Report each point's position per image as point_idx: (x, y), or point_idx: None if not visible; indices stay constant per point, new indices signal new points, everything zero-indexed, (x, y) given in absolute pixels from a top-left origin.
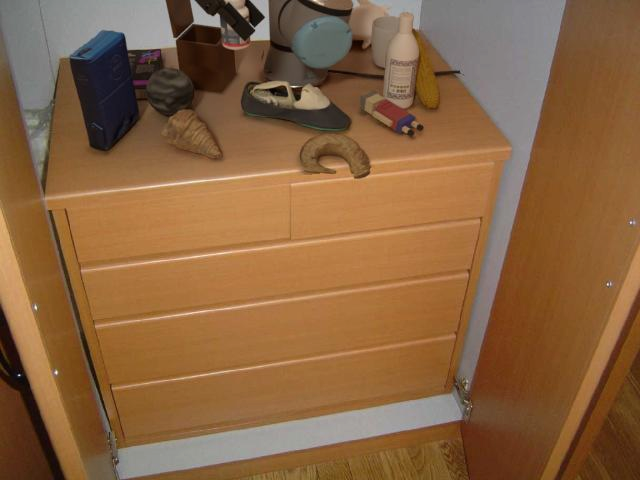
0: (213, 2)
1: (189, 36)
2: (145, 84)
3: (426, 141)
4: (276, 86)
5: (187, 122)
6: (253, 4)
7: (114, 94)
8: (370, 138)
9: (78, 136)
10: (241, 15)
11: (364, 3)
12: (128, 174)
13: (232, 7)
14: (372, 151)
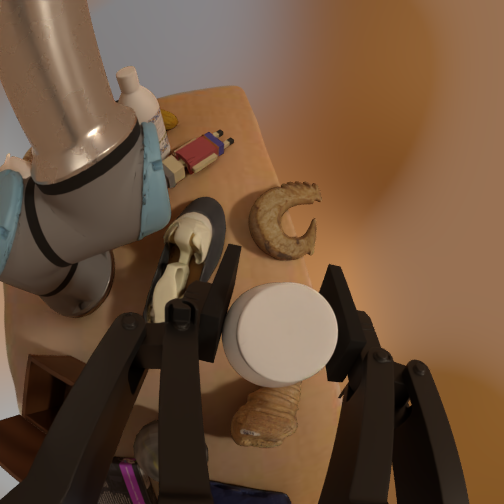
0: (430, 377)
1: (46, 424)
2: (134, 478)
3: (237, 133)
4: (176, 284)
5: (286, 416)
6: (220, 268)
7: None
8: (232, 181)
9: None
10: (339, 297)
11: (2, 170)
12: (330, 458)
13: (354, 324)
14: (260, 181)
